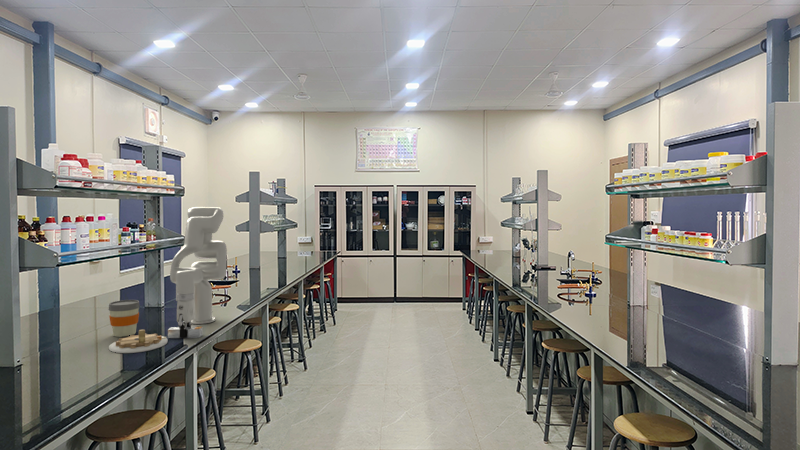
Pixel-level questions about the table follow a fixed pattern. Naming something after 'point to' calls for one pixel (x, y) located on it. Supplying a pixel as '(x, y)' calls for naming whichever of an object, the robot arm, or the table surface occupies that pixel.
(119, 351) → the base plate
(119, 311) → the reusable coffee cup
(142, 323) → the table surface
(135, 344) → the sprocket wheel
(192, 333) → the white rectangular box
